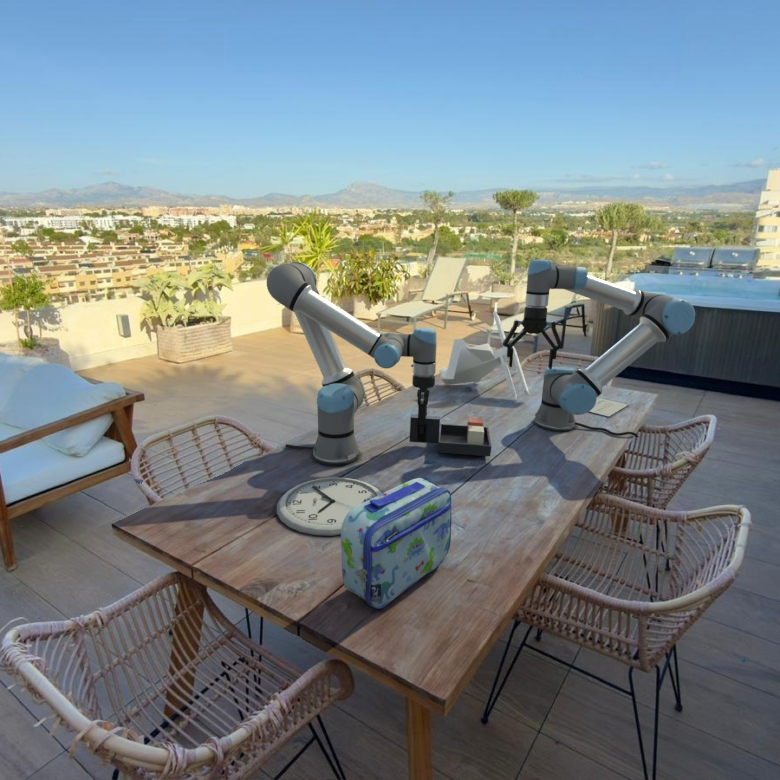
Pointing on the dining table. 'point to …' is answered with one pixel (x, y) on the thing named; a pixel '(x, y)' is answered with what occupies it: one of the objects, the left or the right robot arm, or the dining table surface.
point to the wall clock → (323, 504)
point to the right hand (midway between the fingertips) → (530, 367)
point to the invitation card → (607, 407)
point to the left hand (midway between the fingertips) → (421, 439)
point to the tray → (449, 437)
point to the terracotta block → (474, 422)
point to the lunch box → (395, 540)
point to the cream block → (475, 435)
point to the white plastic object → (480, 363)
